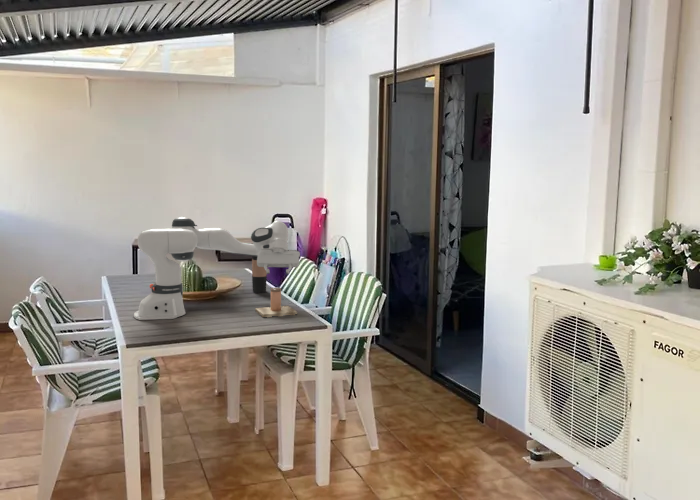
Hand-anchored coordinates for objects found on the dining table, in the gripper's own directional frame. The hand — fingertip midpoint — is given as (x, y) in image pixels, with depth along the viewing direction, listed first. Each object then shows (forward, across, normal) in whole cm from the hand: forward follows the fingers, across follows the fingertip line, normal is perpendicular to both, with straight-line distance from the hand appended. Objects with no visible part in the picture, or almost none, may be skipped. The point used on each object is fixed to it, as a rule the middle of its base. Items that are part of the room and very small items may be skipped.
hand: (277, 273), depth 310 cm
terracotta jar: (+18, 0, -3) cm, 19 cm away
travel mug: (-14, +11, -38) cm, 43 cm away
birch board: (+19, 0, -4) cm, 20 cm away
